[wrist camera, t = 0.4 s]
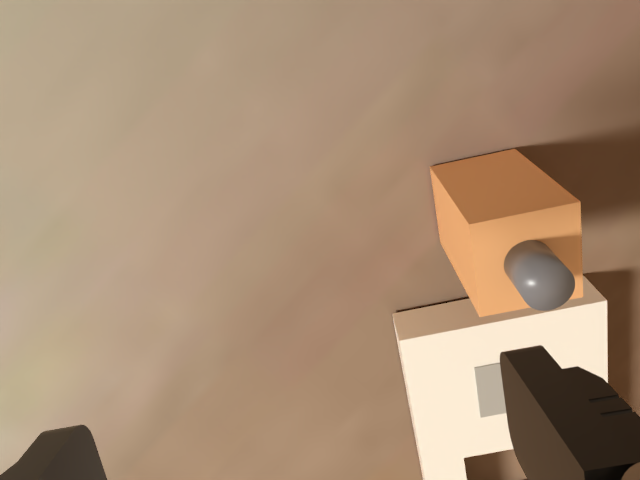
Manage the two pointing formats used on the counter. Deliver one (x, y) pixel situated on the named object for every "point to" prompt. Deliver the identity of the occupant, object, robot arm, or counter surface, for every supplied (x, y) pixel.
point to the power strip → (484, 370)
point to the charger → (509, 232)
